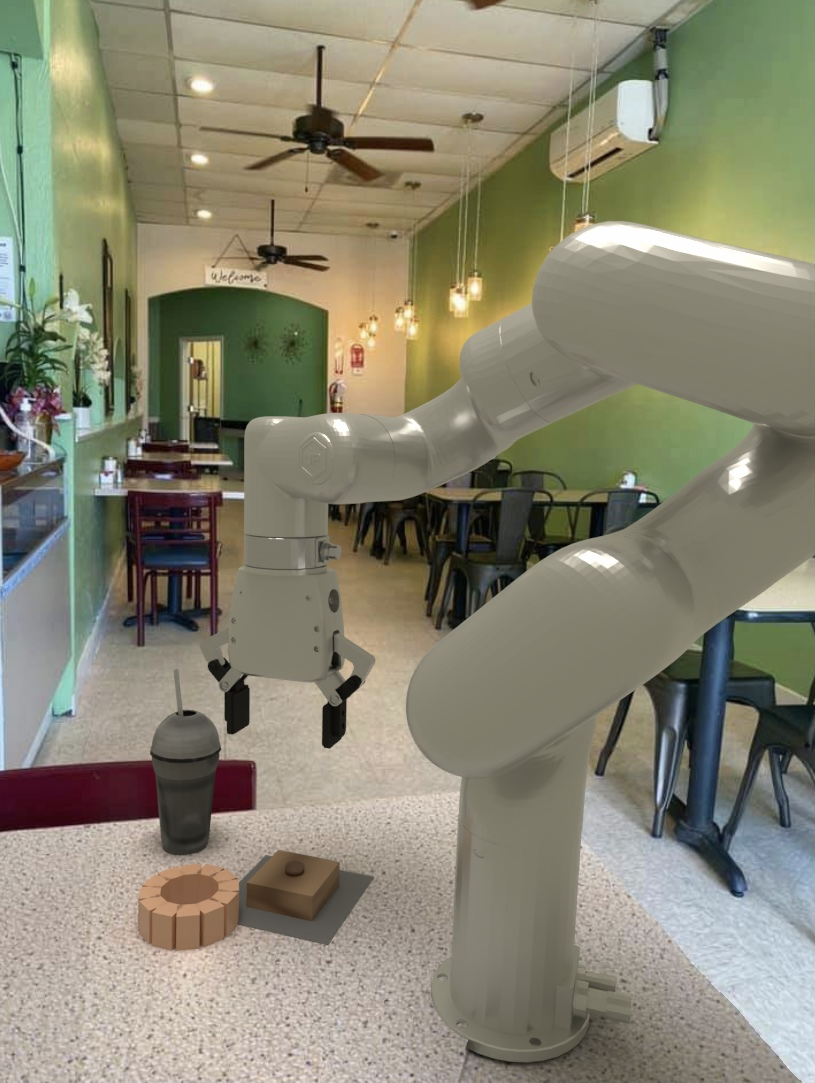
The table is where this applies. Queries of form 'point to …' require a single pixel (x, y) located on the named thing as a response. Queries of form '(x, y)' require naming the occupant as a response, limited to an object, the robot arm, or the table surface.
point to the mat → (312, 931)
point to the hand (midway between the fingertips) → (284, 736)
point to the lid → (293, 885)
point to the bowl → (188, 907)
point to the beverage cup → (185, 777)
